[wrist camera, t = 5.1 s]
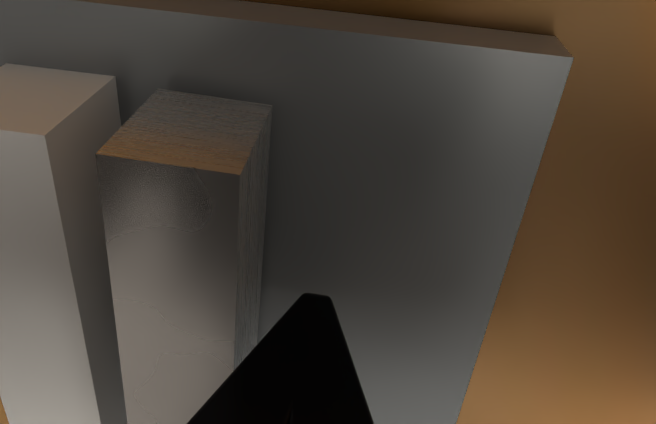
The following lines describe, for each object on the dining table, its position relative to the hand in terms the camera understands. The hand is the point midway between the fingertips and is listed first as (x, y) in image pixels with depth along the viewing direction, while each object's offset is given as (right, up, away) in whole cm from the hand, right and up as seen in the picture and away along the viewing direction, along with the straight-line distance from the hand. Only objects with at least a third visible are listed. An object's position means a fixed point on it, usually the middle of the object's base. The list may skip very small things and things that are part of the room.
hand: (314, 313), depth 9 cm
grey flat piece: (-2, -2, +3) cm, 4 cm away
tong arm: (-2, -3, +2) cm, 4 cm away
